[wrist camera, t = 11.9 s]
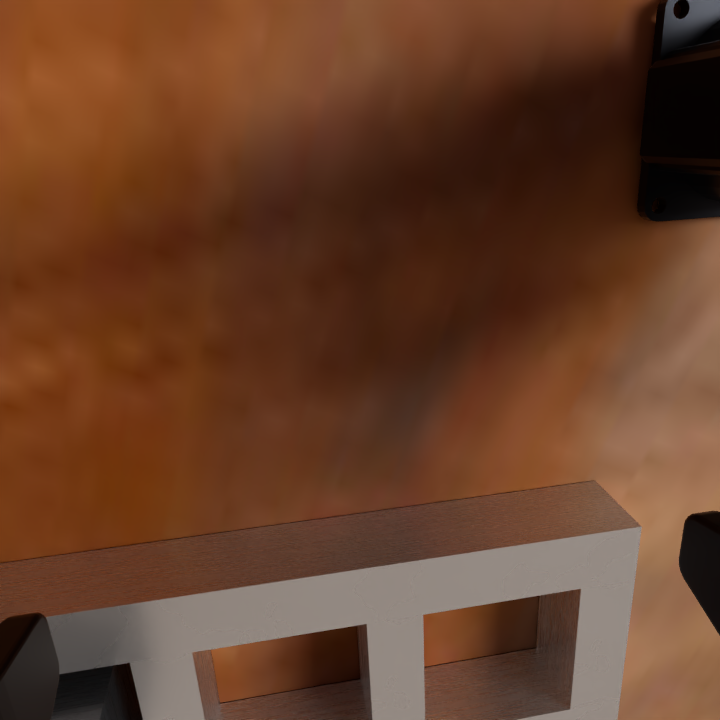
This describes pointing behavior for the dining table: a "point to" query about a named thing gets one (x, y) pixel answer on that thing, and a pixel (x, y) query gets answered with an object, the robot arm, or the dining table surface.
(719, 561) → the robot arm
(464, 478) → the dining table surface
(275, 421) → the dining table surface
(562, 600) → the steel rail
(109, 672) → the graphite block
